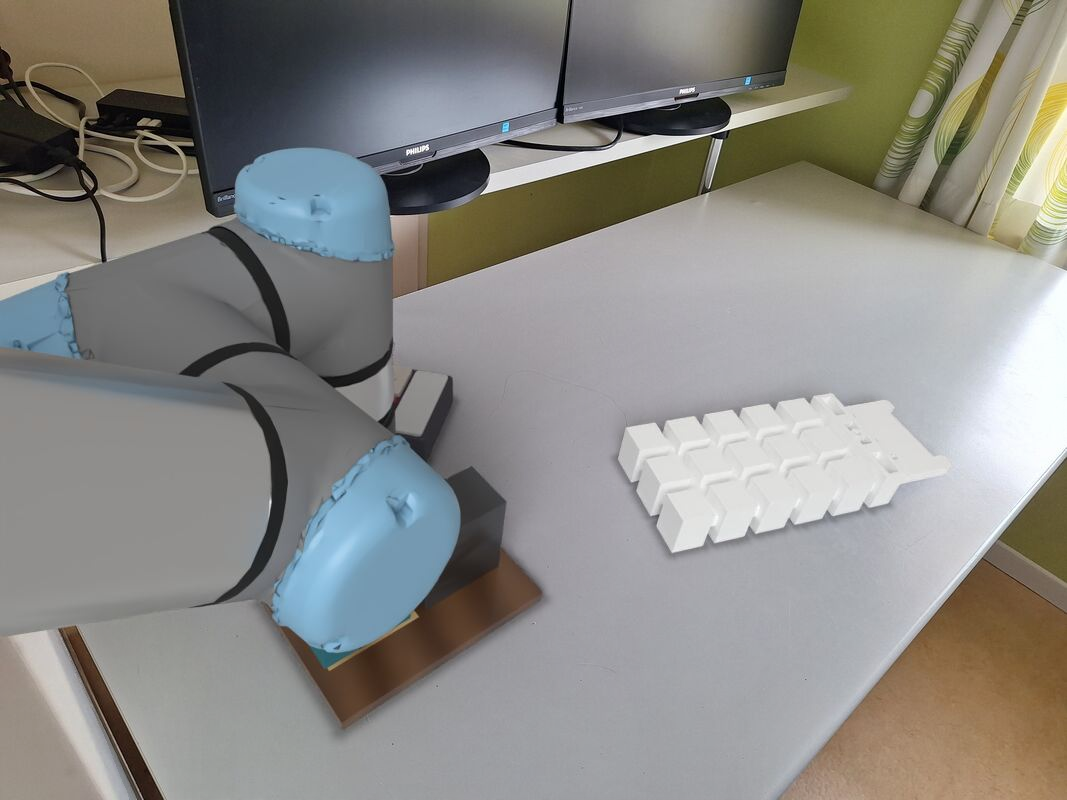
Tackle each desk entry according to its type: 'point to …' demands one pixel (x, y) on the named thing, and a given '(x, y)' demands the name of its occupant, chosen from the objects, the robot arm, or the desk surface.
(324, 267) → the robot arm
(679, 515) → the white ice cube tray
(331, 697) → the wooden stand
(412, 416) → the calculator
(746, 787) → the desk surface
